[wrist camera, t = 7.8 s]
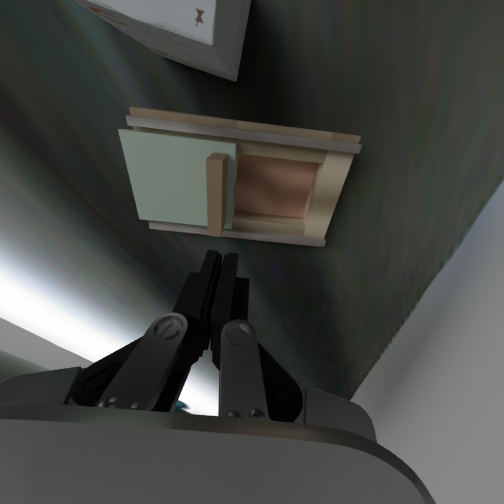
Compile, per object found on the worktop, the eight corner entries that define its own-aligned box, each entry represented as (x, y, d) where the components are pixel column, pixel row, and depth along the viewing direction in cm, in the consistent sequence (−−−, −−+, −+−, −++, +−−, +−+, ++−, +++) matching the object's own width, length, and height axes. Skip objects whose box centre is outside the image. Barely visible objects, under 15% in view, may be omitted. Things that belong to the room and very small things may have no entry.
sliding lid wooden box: (143, 107, 22) (123, 106, 19) (350, 134, 23) (365, 137, 20) (162, 220, 30) (150, 232, 27) (315, 236, 31) (322, 250, 28)
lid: (123, 129, 21) (90, 132, 17) (236, 142, 21) (231, 149, 17) (143, 215, 27) (122, 234, 23) (232, 225, 27) (227, 245, 23)
